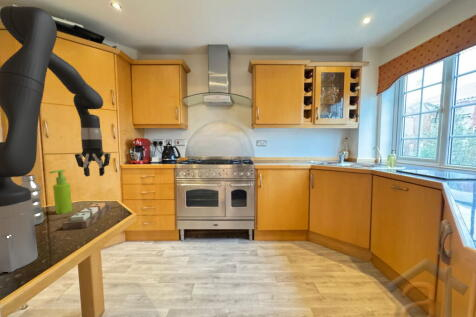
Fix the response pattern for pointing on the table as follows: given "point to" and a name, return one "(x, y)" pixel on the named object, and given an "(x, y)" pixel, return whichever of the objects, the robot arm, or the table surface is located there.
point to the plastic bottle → (34, 197)
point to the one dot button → (98, 205)
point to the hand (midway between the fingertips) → (94, 175)
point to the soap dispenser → (62, 194)
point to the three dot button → (90, 210)
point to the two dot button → (80, 216)
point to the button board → (88, 221)
